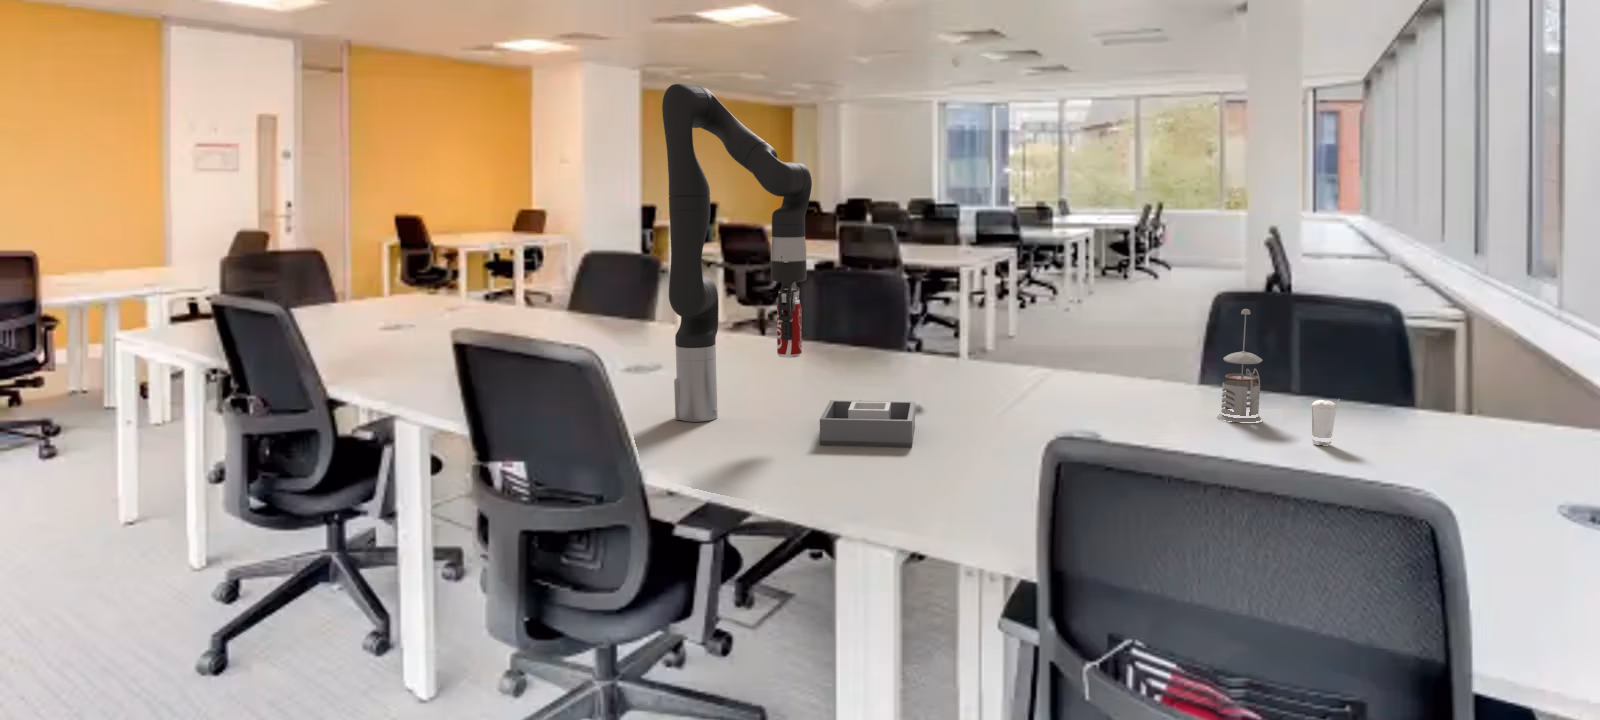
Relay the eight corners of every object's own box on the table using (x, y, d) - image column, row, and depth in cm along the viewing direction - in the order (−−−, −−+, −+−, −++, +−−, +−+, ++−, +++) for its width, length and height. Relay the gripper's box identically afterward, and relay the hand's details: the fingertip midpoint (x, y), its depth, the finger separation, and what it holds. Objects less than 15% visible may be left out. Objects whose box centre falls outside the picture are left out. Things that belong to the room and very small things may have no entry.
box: (819, 445, 213) (819, 416, 212) (830, 424, 232) (830, 398, 231) (911, 447, 210) (912, 418, 209) (915, 425, 229) (915, 399, 228)
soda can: (798, 358, 218) (798, 301, 216) (774, 357, 219) (774, 301, 217) (803, 354, 223) (803, 299, 221) (780, 353, 224) (779, 298, 222)
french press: (1250, 413, 237) (1257, 305, 233) (1275, 425, 225) (1282, 312, 221) (1208, 414, 236) (1214, 306, 232) (1231, 426, 225) (1237, 312, 221)
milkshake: (1327, 449, 205) (1331, 400, 203) (1303, 443, 209) (1307, 395, 208) (1342, 446, 207) (1346, 397, 205) (1318, 440, 211) (1322, 393, 210)
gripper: (776, 255, 225) (777, 332, 228) (765, 260, 211) (766, 342, 214) (810, 256, 224) (811, 333, 227) (801, 261, 210) (801, 343, 213)
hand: (789, 337), depth 220 cm, fingers closed on soda can, 5 cm apart
